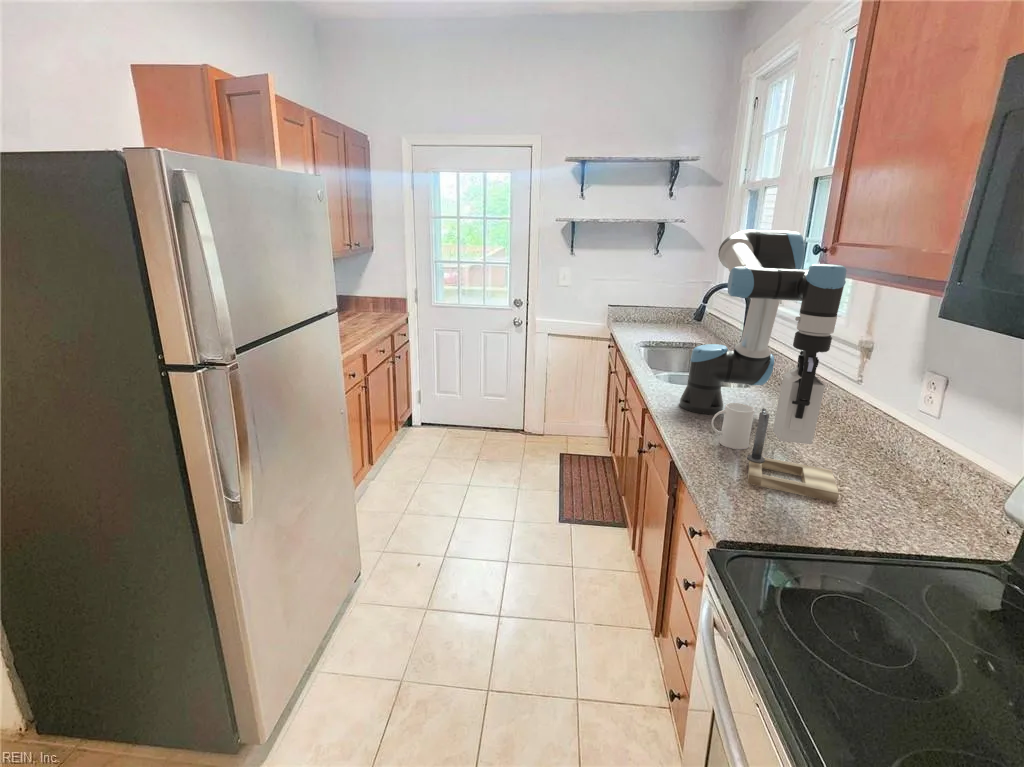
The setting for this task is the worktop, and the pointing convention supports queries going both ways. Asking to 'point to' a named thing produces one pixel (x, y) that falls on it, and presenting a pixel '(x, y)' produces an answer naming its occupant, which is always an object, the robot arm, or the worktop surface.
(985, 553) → the worktop surface
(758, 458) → the metal door lever handle
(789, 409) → the milk carton
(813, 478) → the tan flat frame
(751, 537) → the worktop surface
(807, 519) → the worktop surface
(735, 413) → the mug
